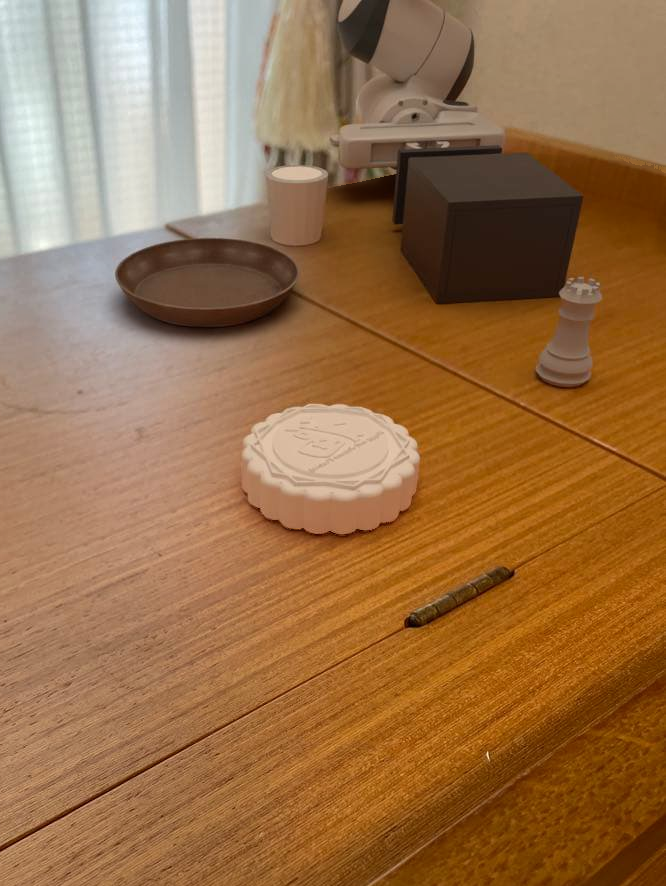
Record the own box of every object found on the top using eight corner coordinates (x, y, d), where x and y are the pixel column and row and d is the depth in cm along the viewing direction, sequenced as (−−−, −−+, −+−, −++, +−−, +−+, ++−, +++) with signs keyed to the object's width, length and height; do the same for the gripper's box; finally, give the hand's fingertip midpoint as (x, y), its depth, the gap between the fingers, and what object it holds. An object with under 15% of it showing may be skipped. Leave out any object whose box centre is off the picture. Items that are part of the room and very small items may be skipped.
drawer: (383, 209, 103) (389, 139, 98) (476, 204, 104) (486, 135, 99) (422, 264, 89) (431, 186, 85) (529, 258, 90) (544, 181, 86)
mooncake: (326, 421, 67) (328, 379, 65) (451, 486, 60) (458, 442, 58) (206, 482, 61) (203, 438, 58) (330, 563, 54) (332, 516, 51)
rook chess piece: (589, 392, 70) (613, 297, 65) (531, 384, 71) (551, 290, 66) (591, 368, 73) (614, 275, 68) (536, 360, 74) (555, 269, 69)
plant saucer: (322, 277, 89) (323, 248, 87) (260, 350, 76) (259, 318, 74) (167, 256, 94) (165, 228, 92) (84, 321, 82) (80, 290, 80)
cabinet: (400, 250, 95) (408, 157, 89) (511, 244, 96) (527, 152, 90) (436, 304, 84) (448, 202, 78) (562, 296, 85) (584, 195, 79)
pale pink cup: (293, 252, 95) (293, 186, 91) (253, 235, 99) (252, 171, 95) (338, 237, 98) (341, 173, 94) (298, 222, 103) (299, 160, 98)
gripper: (327, 108, 109) (349, 136, 98) (486, 102, 110) (524, 129, 100) (325, 161, 113) (346, 194, 102) (479, 154, 114) (515, 186, 103)
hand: (436, 162), depth 101 cm, fingers closed
